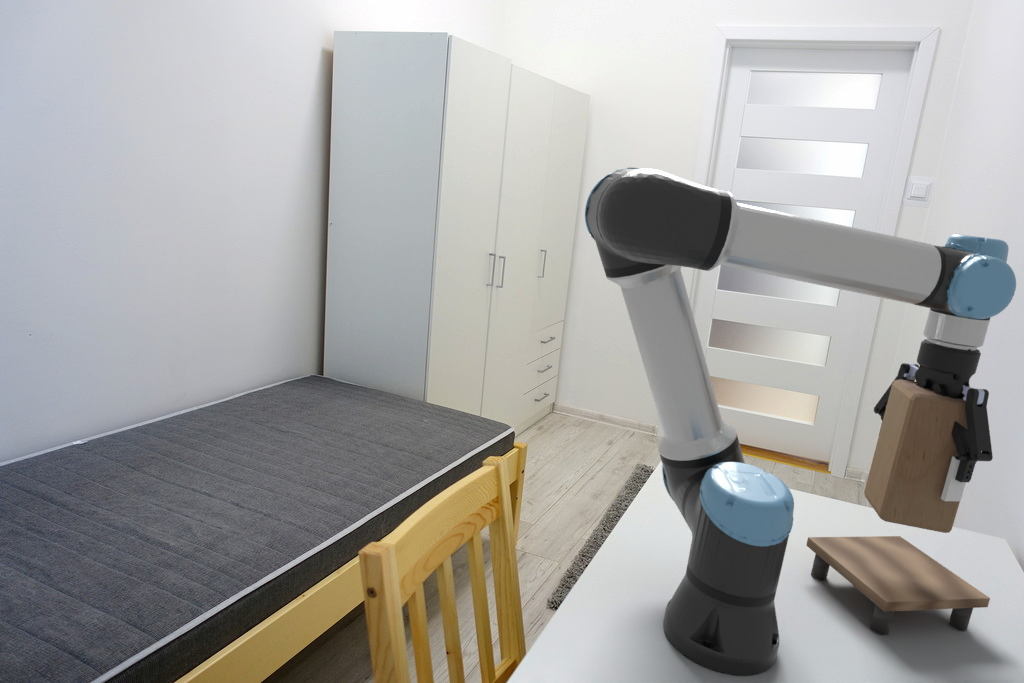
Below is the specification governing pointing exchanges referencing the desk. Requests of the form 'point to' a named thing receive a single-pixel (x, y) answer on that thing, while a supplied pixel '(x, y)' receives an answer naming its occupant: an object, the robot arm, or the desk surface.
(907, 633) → the desk surface
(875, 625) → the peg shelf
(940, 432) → the wooden block
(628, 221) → the robot arm
